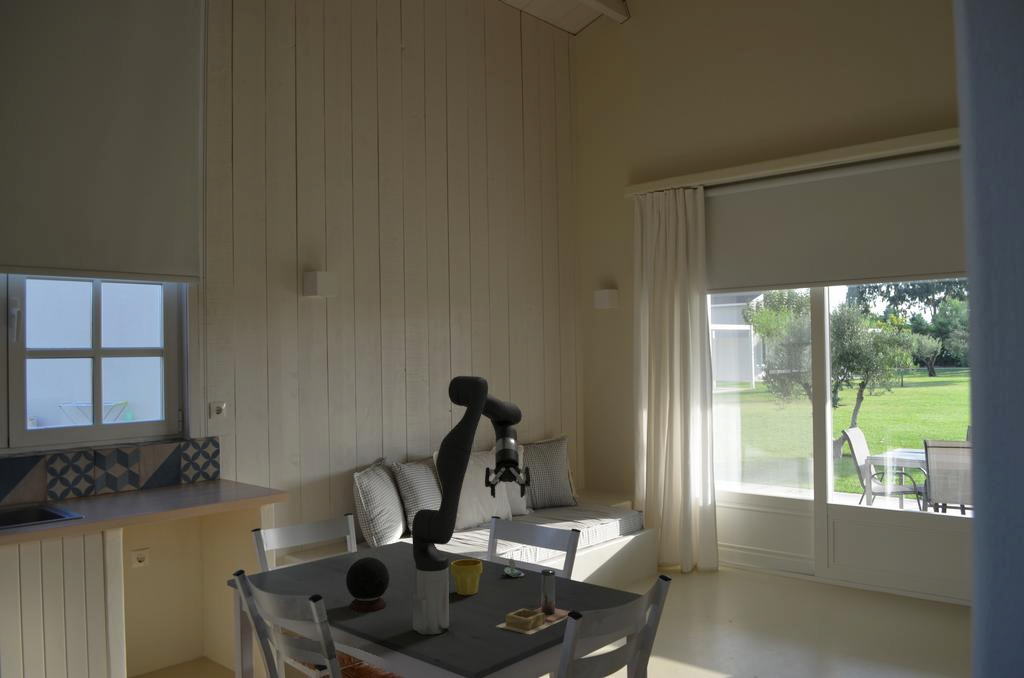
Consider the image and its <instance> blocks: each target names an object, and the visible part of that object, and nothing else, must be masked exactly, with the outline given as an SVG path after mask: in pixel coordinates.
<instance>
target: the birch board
mask: <svg viewBox="0 0 1024 678" xmlns="http://www.w3.org/2000/svg"><path fill="white" fill-rule="evenodd" d="M569 612H571V610H565V609H559V608H556V607H555V614H553V615H545V613H543V612H541V607H538V608H536V609H534V610H533V609H527V608H523V607H522V608H520V609H517V610H515V611H512V612H509V613H508V614H505V622H503V623H499V624H498V625H495V627H496V628H500V629H504V630H508V631H513V632H516V633H517V632H518V633H521V634H525V635H533V634H535V633H537V632H540V631H542V630H544V629H546V628H548V627H551V626H553V625H555V624H557V623H560V622H562V621H564V620H567V619H568V618H567V617H568V613H569Z"/></svg>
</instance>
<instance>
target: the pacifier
mask: <svg viewBox="0 0 1024 678" xmlns="http://www.w3.org/2000/svg"><path fill="white" fill-rule="evenodd" d="M508 564H509V567H505V568H504V573H505V574H507V575H508V576H509V577H511V576H512V578H518V577H524V576H525V573H523V572H522V571H520V570H518V569H515V568H516V562H515V560H514V558H510V559H509V560H508Z"/></svg>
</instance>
